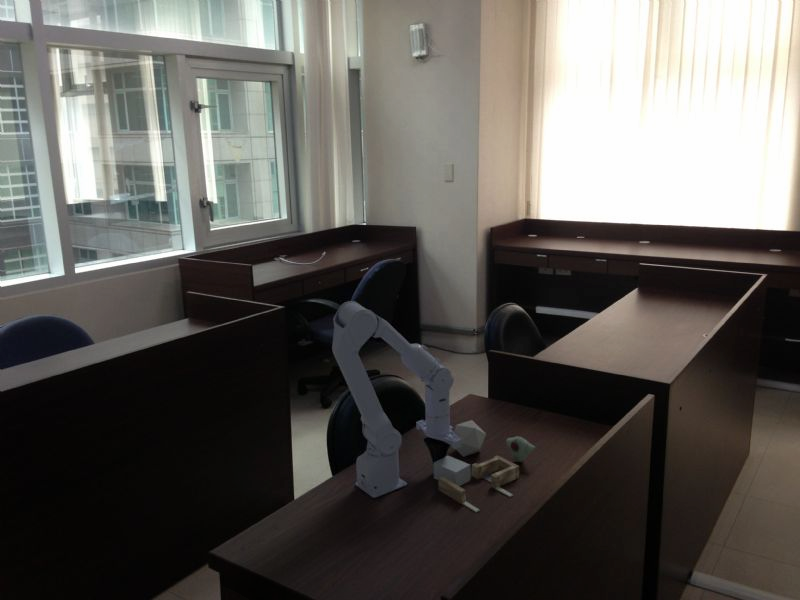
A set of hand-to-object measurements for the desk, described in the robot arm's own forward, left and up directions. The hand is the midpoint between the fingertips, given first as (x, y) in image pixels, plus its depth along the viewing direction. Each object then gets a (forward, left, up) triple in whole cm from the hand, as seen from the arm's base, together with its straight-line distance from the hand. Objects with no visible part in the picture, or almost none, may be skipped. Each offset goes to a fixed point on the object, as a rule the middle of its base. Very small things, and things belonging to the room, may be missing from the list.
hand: (438, 465), depth 164 cm
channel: (+3, -11, -1) cm, 11 cm away
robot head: (+18, -9, -2) cm, 20 cm away
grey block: (0, -5, -1) cm, 5 cm away
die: (+12, +3, -2) cm, 12 cm away
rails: (0, -17, -1) cm, 17 cm away
